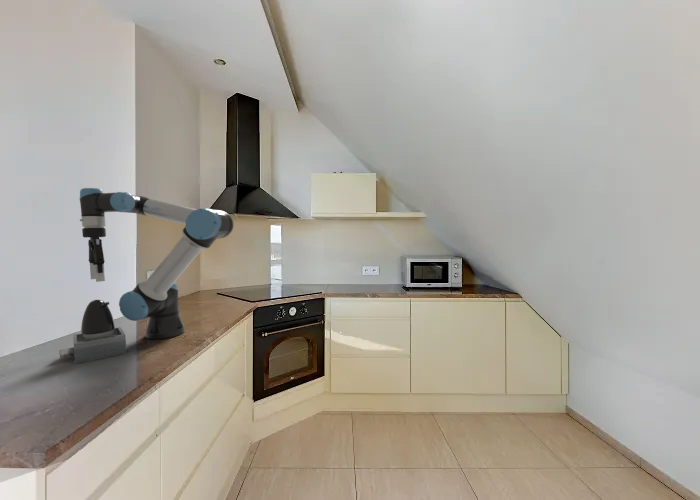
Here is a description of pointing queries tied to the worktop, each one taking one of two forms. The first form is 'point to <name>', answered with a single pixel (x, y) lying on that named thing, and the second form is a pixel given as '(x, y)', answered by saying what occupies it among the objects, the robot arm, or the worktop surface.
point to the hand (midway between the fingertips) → (97, 280)
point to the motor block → (96, 347)
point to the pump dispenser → (97, 321)
